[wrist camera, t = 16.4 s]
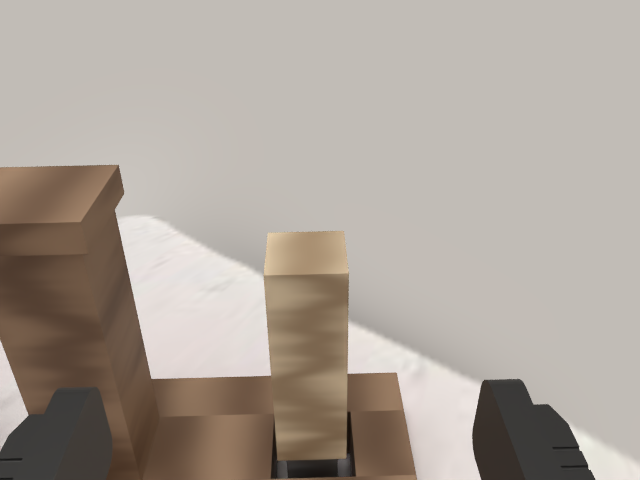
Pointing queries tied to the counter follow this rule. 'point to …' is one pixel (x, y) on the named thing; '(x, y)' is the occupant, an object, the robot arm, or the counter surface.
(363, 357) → the counter surface
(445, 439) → the counter surface
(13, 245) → the brown wooden stand
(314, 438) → the beige wooden post
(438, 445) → the counter surface
